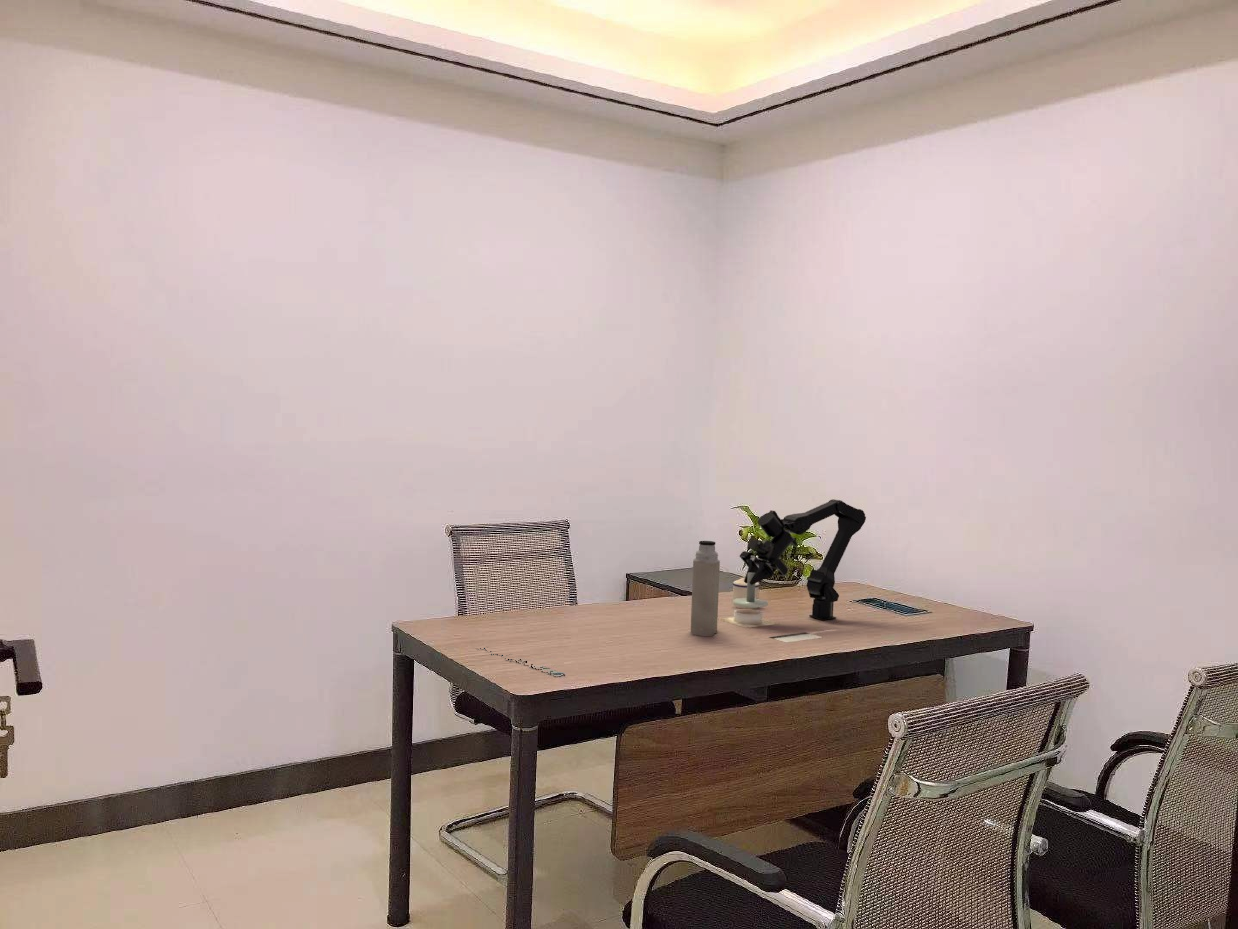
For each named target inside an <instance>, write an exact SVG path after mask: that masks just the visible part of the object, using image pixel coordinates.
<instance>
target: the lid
mask: <svg viewBox="0 0 1238 929" xmlns="http://www.w3.org/2000/svg"><path fill="white" fill-rule="evenodd" d="M754 575H755V573H752V572H749V573H748V578H747V598H738V599H734V600H733V599H732V605H733V604H735V605H738V606H743V607H758V608H764V607H768V606H769V601H768V600H765V599H761V598H758V599H755V584H753V585H751V584H750V581H751V579H752V578H753V576H754Z"/></svg>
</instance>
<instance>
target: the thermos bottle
mask: <svg viewBox="0 0 1238 929" xmlns="http://www.w3.org/2000/svg"><path fill="white" fill-rule="evenodd" d="M698 544H699V546H698V550H697V551H696V552H695V555H694V556H695V558H693V562H692V580H691V582H692V587H691V614H690V633H691V635H694V634H695V635H694V636H699V637H712V636H714V635H716V634H717V632H718V619H719V618H718V613H719V612H718V611H719V592H720V590H719V589H720V588H719V587H720V567H721V564H720V563H721V562H720V561H721V560H719V559H718V556H719V554H718V552H717V551H716V541H712V540H700V541H698Z"/></svg>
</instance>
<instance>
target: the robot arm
mask: <svg viewBox="0 0 1238 929" xmlns="http://www.w3.org/2000/svg"><path fill="white" fill-rule="evenodd" d="M831 516H835V517H837V518H838V519H837V528H838V529H837V531H836V533H835V536H834V538H833V540H832V543H831V544H830V546H829V549H828V550H827V552H826V555H825V556H824V559H823V561H822V563H821V565H820V567H818V568H817V569H815V568H813V569H812V570H811V571H810V573H809V576H808V577H807V578H806V580H807V582H806V585H805V586H806V588H807V591H808V596H809V598H810V599H811V598H812V599H813V600H812V601H813V602H812V610H811V612H812V613H811V614H809V618H813V619H818V620H820V619H821V621H827V619H828V620H835V619H837V616H834V603H835V602H838V601H839V598H840V594H839V593H838V592H837V591H836V589H835V584H836V578H835V573H836V571H837V569H838V566H839V564H840V562H841V560H842V558H843V557H844V554H845V552H846V549H847V547H848V545H849V543H850V541H851V540H852V537H853V536H854V535H855V534H856V533H858V532H859V531H861V529H862V527H863V526H864V524H865V522H866V519H867V516H866V513H865V511H864V510H863V509H860V508H856V507H854V506H852V505H850V504H847V503H845V502H844V501H843V500H840V499H835V498H834V499H833V498H832V499H830V500H828V501H827V502H825V503H822V504H820V505H818V506H816V507H813V508H811V509H810V510H807V511H805V512H800V513H792V514H787V515H786V516H784V517H783V518H780V517H779V515H778V512H776V510H769V512H766V513H764V514H762V515H761V516H760V517H759V518H758V520H757V524H758V526H759V527H760V528H761V530H762V531H763V532H764V534H765V535H766V536H767V537H769V538H771V539H770V540H768V539H765V538H764V539H763V540H759V539H755V538H752V537H750V539H749V542H748V545H747V549H750V550H752V551H754V552H751V551H747V550H746V551H745V550H744V551H742V552H741V553H740V554H739V558H740V559H741V560H742V562H743V563H744V564H745V565H746V566H747V571H746V574H745V575H746V577H745V580H744V582H745V583H747V578H748V573H749V572H752V573H755V575H754V576H753V578H752V579H751V581H750V584H751V585H753V584H755V583H757V582H758V583H760V582H761V581H764V580H766V579H768V578H771V577H774V576H775V573H776V571H778V572H777V575H778V576H779V577H783V578H784V577H785V576H786V575H788V572H789V568H788V566H787V565H786V564H785V562H784V561H783V560H782V559H783V558H785V555H784V553H785V552H786V550H787V549H788V548H789V547H790V546H793V547H797V546H798V542H797V537H795V536H792V534H793V535H803V534H805V533H806V532H807V531H809V530H810V529H811V527H812V526H813V525H814V524H816V523H818V522H821V521H823V520H825V519H827V518H830V517H831Z"/></svg>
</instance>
